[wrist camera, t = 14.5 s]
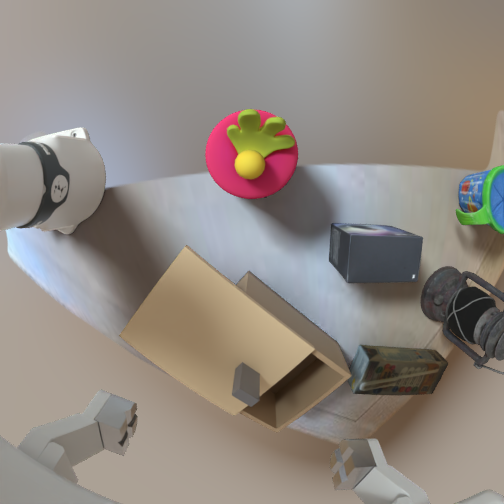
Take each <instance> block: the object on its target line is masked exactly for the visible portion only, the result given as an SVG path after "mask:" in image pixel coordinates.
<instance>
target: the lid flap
mask: <svg viewBox="0 0 504 504" xmlns="http://www.w3.org/2000/svg"><path fill="white" fill-rule="evenodd" d="M119 336H120V337H121V338H122V339H124V340H125V341H126V342H127V343H128V344H130V345H131V346H132V347H133V348H135V349H136V350H137V351H138V352H140V353H141V354H142V355H144V356H145V357H146V358H147V359H149V360H150V361H151V362H153V363H154V364H155V365H157V366H158V367H160V368H161V369H162V370H164V371H165V372H166V373H168V374H169V375H171V376H172V377H173V378H175V379H176V380H178V381H179V382H181V383H182V384H184V385H185V386H187V387H188V388H190V389H191V390H193V391H194V392H196V393H197V394H199V395H200V396H202V397H203V398H205V399H207V400H208V401H210V402H211V403H213V404H215V405H217V406H218V407H220V408H221V409H223V410H225V411H227V412H228V413H230V414H232V415H233V416H235V415H236V414H237V413H239V412H240V411H241V410H243V409H244V408H245V407H247V406H248V405H249V406H250V407H252V406H253V405H255V404H256V403H257V402H258V401H259V397H260V396H261V395H262V394H263V393H265V392H266V391H267V390H268V389H270V388H271V387H272V386H273V385H274V384H276V383H277V382H278V381H279V380H280V379H282V378H283V377H284V376H285V375H286V374H288V373H289V372H290V371H291V370H292V369H293V368H295V367H296V366H297V365H298V364H299V363H300V362H301V361H302V360H304V359H305V358H306V357H307V356H308V355H309V354H310V353H311V352H312V351H314V350H315V348H314V346H313V345H312V344H311V343H309V342H308V341H307V340H305V339H304V338H303V337H301V336H300V335H299V334H297V333H296V332H295V331H294V330H292V329H291V328H290V327H288V326H287V325H286V324H284V323H283V322H282V321H281V320H279V319H278V318H277V317H275V316H274V315H273V314H272V313H270V312H269V311H268V310H266V309H265V308H264V307H263V306H261V305H260V304H259V303H257V302H256V301H255V300H254V299H252V298H251V297H250V296H249V295H247V294H246V293H245V292H244V291H242V290H241V289H240V288H239V287H237V286H236V285H235V284H234V283H232V282H231V281H230V280H229V279H227V278H226V277H225V276H224V275H223V274H221V273H220V272H219V271H218V270H216V269H215V268H214V267H213V266H212V265H210V264H209V263H208V262H207V261H205V260H204V259H203V258H202V257H201V256H199V255H198V254H197V253H196V252H195V251H193V250H192V249H191V248H190V247H189V246H187V245H186V246H185V247H184V248H183V250H182V251H181V252H180V253H179V255H178V256H177V257H176V259H175V260H174V261H173V263H172V264H171V265H170V266H169V268H168V269H167V270H166V272H165V273H164V274H163V276H162V277H161V278H160V280H159V281H158V282H157V284H156V285H155V286H154V288H153V289H152V290H151V292H150V293H149V295H148V296H147V297H146V299H145V300H144V301H143V303H142V304H141V306H140V307H139V308H138V310H137V311H136V312H135V314H134V315H133V317H132V318H131V320H130V321H129V322H128V324H127V325H126V327H125V328H124V329H123V331H122V332H121V334H120V335H119Z"/></svg>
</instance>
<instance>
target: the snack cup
mask: <svg viewBox="0 0 504 504" xmlns="http://www.w3.org/2000/svg"><path fill="white" fill-rule="evenodd" d="M459 186H460V187H459V204H460V206H461V208H462V209H463V210H464V212H465V213H464V212H462V211H461V210H459V209H456V215H457V218H458V220H459V222H460V223H461V224H462V225H480V224H487V225H489V226H491V228H493V229H494V230H495V231H497V232H499V233H500V234H504V165H502V166H498V167H495V168H493V169H492V170H488V171H483V172H479V173H475V174H471V175H468V176H466V177H465V178H464V179H463V181H462V182H461V183H460V185H459Z"/></svg>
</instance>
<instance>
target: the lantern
mask: <svg viewBox="0 0 504 504" xmlns="http://www.w3.org/2000/svg"><path fill="white" fill-rule="evenodd" d="M468 278H469V279H471V280H473V281H474V282H476V283H477V284H479V285H480V286H482V287H483V288H485V289H486V290H488V291H489V292H491V293H492V294H494V295H495V296H497V297H498V298H500V299H501V300H502V301H503V302H504V293H502V292H501V291H500V290H498V289H496V288H495V287H494V286H492V285H491V284H489V283H488V282H486V281H485V280H483V279H482V278H480V277H479V276H477V275H476V274H474V273H471V272H468V271H465V272H463V273H462V274H461V273H460V272H459V271H458V270H457V269H456V268H454V267H450V266H446V267H442V268H440V269H438V270H437V271H435V272H434V273H433V274H432V275H431V276H430V277H429V279H428V280H427V282H426V283H425V285H424V288H423V290H422V294H421V308H422V311H423V313H424V314H425V315H426V316H427V317H428V318H429V319H432V320H435V321H441V322H444V324H443V330H442V331H443V333H444V335H445V336H446V337H447V338H448V339H449V340H450V341H451V342H453V343H454V344H455V345H456V346H458V347H459V348H460V349H461V350H463V351H464V352H465V353H466V354H467V355H469V356H470V357H471V358H472V359H473V360H475V363H474V366H475V367H476V368H478V369H480V368H482V367H484V368H487V369H489V370H492V371H494V372H497V373H500V374H504V372H500V371H497V370H495V369H492V368H489V367H486V366H484V365H483V364H485V363H487V362H488V360H489V359H490V358H494V357H496V359H497V360H503V359H504V311H503V312H500V310H499V309H498V308H497V307H496V305H495V300H494V299H493V298H491V297H490V296H489V295H488V294H487V293H485V292H483V291H482V290H480V289H478V288H477V287H468V285H467V282H466V280H467V279H468ZM450 329H451V330H452V332H453V333H454V334H455V335H457V336H458V337H459V338H461V339H462V340H464V341H467V342H468V343H470V344H478V345H480V346H481V348H482V350H483V351H485V355H484V357H481V356H479V355H478V354H477V353H476V352H474V351H473V350H472V349H470V348H469V347H468V346H467V345H466V344H465V343H464V342H462V341H461V340H460V339H459V338H458V337H456V336H455V335H454V334H453V333H452V332H451V331H450Z"/></svg>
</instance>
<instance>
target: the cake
mask: <svg viewBox="0 0 504 504" xmlns="http://www.w3.org/2000/svg"><path fill="white" fill-rule="evenodd" d="M297 160H298V148H297V143H296V140H295V137H294V135H293V133H292V131H291V130H290V128H289V127H288V126H287V125H286V122H285V120H284V119H282V118H281V117H277V116H275V115H273V114H271V113H268V112H266V111H261V110H253V109H247V110H243V111H238V112H235V113H233V114H231V115H229V116H227V117H225V118H224V119H223V120H221V121H220V122H219V123H218V124H217V126H216V127H215V128H214V129H213V131H212V132H211V134H210V136H209V139H208V142H207V146H206V163H207V167H208V170H209V172H210V174H211V176H212V178H213V179H214V181H215V182H216V183H217V184H218V185H219V186H220V187H221V188H222V189H223V190H225V191H226V192H228V193H230V194H232V195H234V196H237V197H240V198H246V199H257V198H263V197H264V198H266V197H267V196H269V195H272V194H274V193H275V192H277V191H279V190H281V188H283V187H284V186H285V185H286V184H287V182H288V181H289V180H290V178H291V177H292V175H293V173H294V171H295V168H296V165H297Z"/></svg>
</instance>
